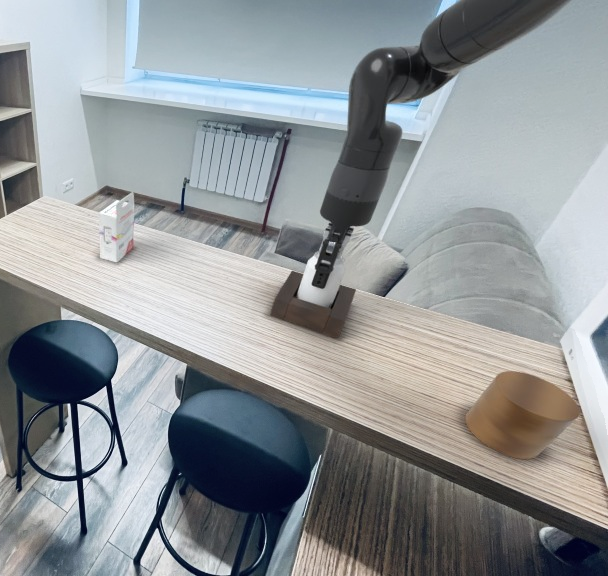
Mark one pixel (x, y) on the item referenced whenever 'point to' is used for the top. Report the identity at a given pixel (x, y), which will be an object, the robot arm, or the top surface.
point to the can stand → (312, 308)
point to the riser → (521, 414)
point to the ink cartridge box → (117, 229)
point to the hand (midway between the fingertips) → (322, 277)
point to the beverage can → (329, 292)
